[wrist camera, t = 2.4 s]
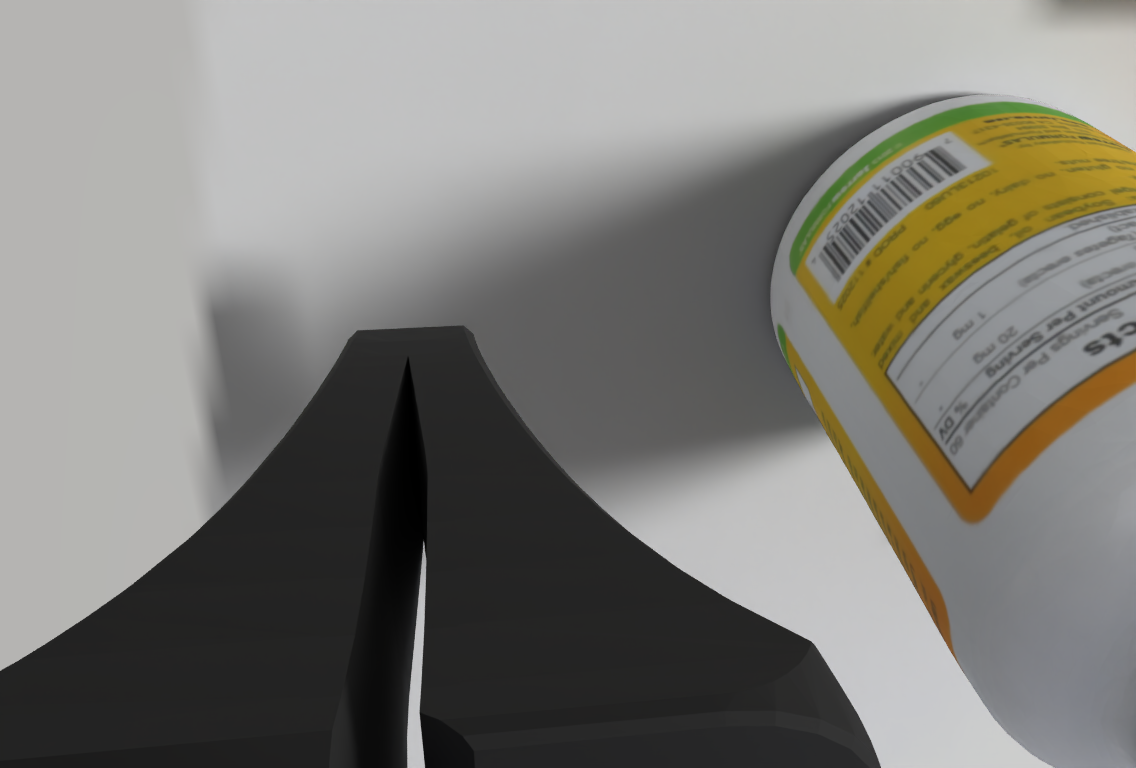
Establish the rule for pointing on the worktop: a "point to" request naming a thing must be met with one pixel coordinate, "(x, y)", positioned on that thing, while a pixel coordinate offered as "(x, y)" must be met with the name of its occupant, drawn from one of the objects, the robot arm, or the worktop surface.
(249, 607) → the robot arm
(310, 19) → the worktop surface
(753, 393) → the worktop surface
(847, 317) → the supplement bottle
